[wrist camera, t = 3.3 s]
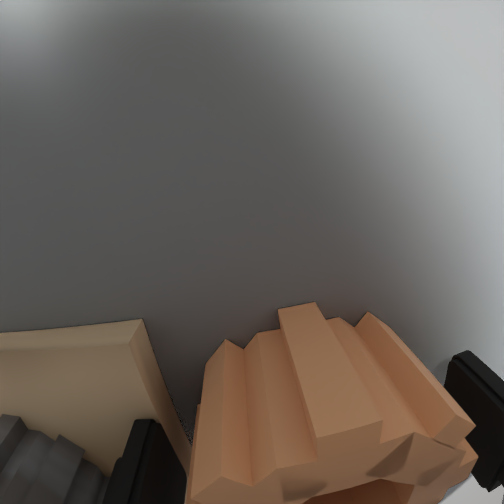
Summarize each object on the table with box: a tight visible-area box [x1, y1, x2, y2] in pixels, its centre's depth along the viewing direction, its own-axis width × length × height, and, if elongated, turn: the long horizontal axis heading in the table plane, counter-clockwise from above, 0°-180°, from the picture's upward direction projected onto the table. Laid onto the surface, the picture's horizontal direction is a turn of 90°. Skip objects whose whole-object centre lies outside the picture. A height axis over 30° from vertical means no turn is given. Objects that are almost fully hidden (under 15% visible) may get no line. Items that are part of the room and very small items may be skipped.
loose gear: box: [186, 302, 478, 504], centre depth 8 cm, size 7×7×5 cm
